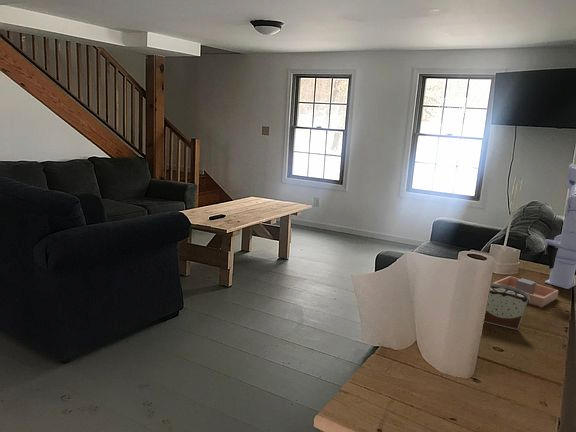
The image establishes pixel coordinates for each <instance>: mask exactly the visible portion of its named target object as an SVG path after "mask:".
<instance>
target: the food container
mask: <svg viewBox="0 0 576 432" xmlns="http://www.w3.org/2000/svg"><path fill="white" fill-rule="evenodd" d="M490 284H491V287H490V292H489V298H488V303H487V308H486V314H485V320H484V322H483V323H488V324H492V325H497V326H500V327H504V328H509V329H513V330H517V331H518V330H519V328H520V325H521V324H522V323H521V321H522V319H523V317H524V313H525V311H526V307H527V305H528V304H529V305H531V304H530V298H529V295H528V294H527V293H525V292H524V291H522V290H519V289H516V288H513V287H510V286H505V285H499V284H493V283H490ZM527 302H528V303H527Z"/></svg>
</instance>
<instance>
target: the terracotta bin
mask: <svg viewBox="0 0 576 432" xmlns="http://www.w3.org/2000/svg"><path fill="white" fill-rule="evenodd" d="M519 279H520V278H518V277H515V276H511V275H509V276H507V277H504V278H502V279H499V280H496V281H494V282H492V284H499V285H505V286H510V287H513V288H516V283H517V280H519ZM525 293H526V292H525ZM527 294H528V295H529V298H530V304H529V303H528V302H527V304H529V305H533V306H535V307H539V308H543V307H545V306H547V305H549V304H551V303H552V302H554V301H555V300H557V299H558V296H559V289H555V288H552V287H548V286H545V285H542V284H538V283H536V286H535V291H534V295H532V294H529V293H527Z"/></svg>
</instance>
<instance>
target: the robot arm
mask: <svg viewBox="0 0 576 432" xmlns="http://www.w3.org/2000/svg"><path fill="white" fill-rule="evenodd" d="M566 176H567V177H566V183H565V185H566V187H565V188H566V189H567V190H569V191H570V193H569V195H568V196H567V200H566V205H565V213H564V215H565V218H564V220H563V221H564V222H563V226H562V230H561V234H559V235H556V236H554V238H553V239H547V238H546V239H544V243H543V246H546V247H545V251H546V254H547V259H548V268H549V270H550V273H549V277H548V279H547V280H545V281H544V283H546V284H548V285H553V286H555V287H559V288H562V289H567V290H569V289H571V288H573V287H575V286H576V285H575V282H574V281H575V277H576V164H573V163H570V164H569V166H568V170H567V175H566Z"/></svg>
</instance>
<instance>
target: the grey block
mask: <svg viewBox="0 0 576 432" xmlns="http://www.w3.org/2000/svg"><path fill="white" fill-rule="evenodd" d="M518 279H519V280H517V283H516V289H519V290H522V291H524V292H526V293H529V294H532V295H534V291H535V286H536V284H537V282H536V281H533V280H530V279H526V278H523V277H522V278H518Z"/></svg>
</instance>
